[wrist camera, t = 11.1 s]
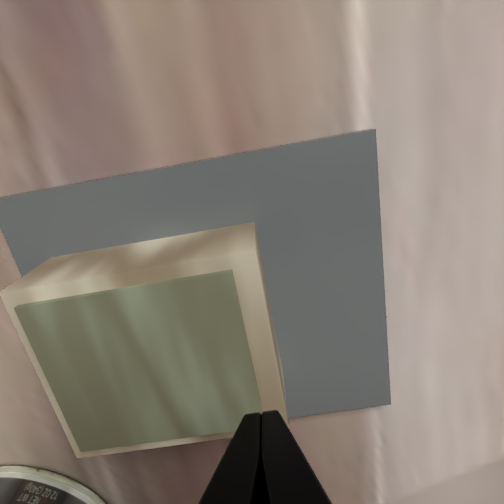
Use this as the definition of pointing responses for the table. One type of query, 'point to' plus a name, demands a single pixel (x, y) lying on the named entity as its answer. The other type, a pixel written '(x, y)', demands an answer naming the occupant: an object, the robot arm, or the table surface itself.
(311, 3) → the table surface
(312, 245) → the slate mat
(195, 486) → the table surface
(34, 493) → the coffee can
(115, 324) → the beech board
